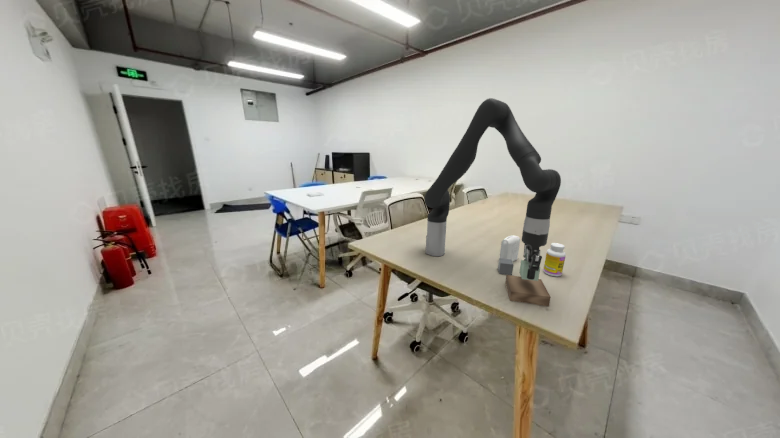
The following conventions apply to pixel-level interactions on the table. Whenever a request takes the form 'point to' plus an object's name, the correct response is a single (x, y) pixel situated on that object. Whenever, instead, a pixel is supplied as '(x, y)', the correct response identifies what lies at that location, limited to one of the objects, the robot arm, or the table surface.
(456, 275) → the table surface
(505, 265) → the charcoal cube
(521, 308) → the table surface
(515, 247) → the photo printer
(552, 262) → the supplement bottle
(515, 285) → the walnut block
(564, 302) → the table surface
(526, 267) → the sage cube
